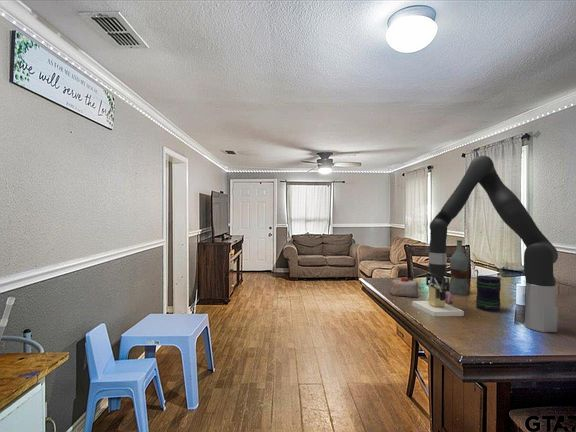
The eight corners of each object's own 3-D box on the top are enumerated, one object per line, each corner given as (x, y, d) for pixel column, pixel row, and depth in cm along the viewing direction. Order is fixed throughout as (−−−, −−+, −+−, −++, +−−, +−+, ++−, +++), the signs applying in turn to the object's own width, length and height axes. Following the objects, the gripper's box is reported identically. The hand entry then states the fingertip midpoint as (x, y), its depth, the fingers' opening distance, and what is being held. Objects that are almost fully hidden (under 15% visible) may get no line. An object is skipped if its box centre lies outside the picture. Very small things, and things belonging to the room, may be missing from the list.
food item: (391, 296, 178) (391, 277, 178) (391, 293, 186) (391, 275, 186) (418, 298, 174) (418, 279, 174) (417, 295, 181) (417, 277, 181)
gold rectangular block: (445, 306, 150) (445, 288, 150) (434, 306, 149) (435, 288, 149) (438, 303, 155) (438, 286, 155) (428, 303, 154) (428, 286, 154)
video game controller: (451, 306, 166) (453, 292, 168) (449, 303, 163) (451, 289, 165) (431, 302, 172) (433, 289, 175) (428, 299, 169) (431, 286, 172)
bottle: (450, 294, 184) (451, 240, 184) (447, 291, 193) (448, 239, 193) (469, 296, 181) (470, 241, 182) (465, 292, 190) (466, 240, 190)
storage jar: (504, 312, 150) (504, 279, 150) (480, 311, 152) (480, 278, 152) (495, 307, 159) (495, 276, 159) (472, 305, 161) (473, 274, 161)
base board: (463, 315, 144) (463, 311, 144) (433, 316, 142) (433, 311, 142) (439, 304, 162) (439, 300, 162) (412, 305, 160) (412, 301, 160)
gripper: (455, 264, 145) (454, 301, 145) (436, 260, 159) (435, 294, 159) (439, 264, 144) (438, 302, 144) (421, 260, 158) (420, 294, 158)
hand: (436, 298), depth 152 cm, fingers open, 8 cm apart
